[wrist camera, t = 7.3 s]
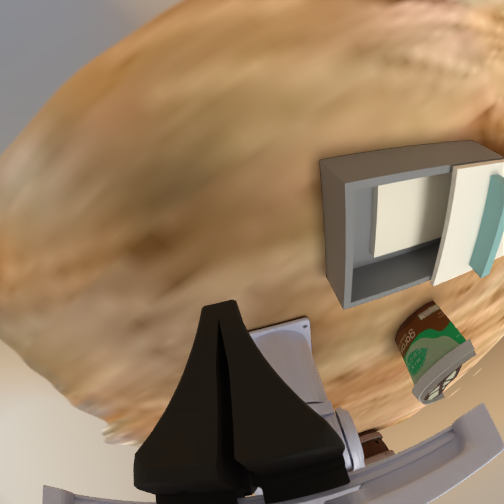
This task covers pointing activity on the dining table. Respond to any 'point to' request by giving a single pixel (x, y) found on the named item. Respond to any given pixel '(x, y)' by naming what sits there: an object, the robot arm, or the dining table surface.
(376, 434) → the flowerpot
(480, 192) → the lid
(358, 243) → the grey sliding-lid box
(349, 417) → the robot arm
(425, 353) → the food container
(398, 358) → the dining table surface
